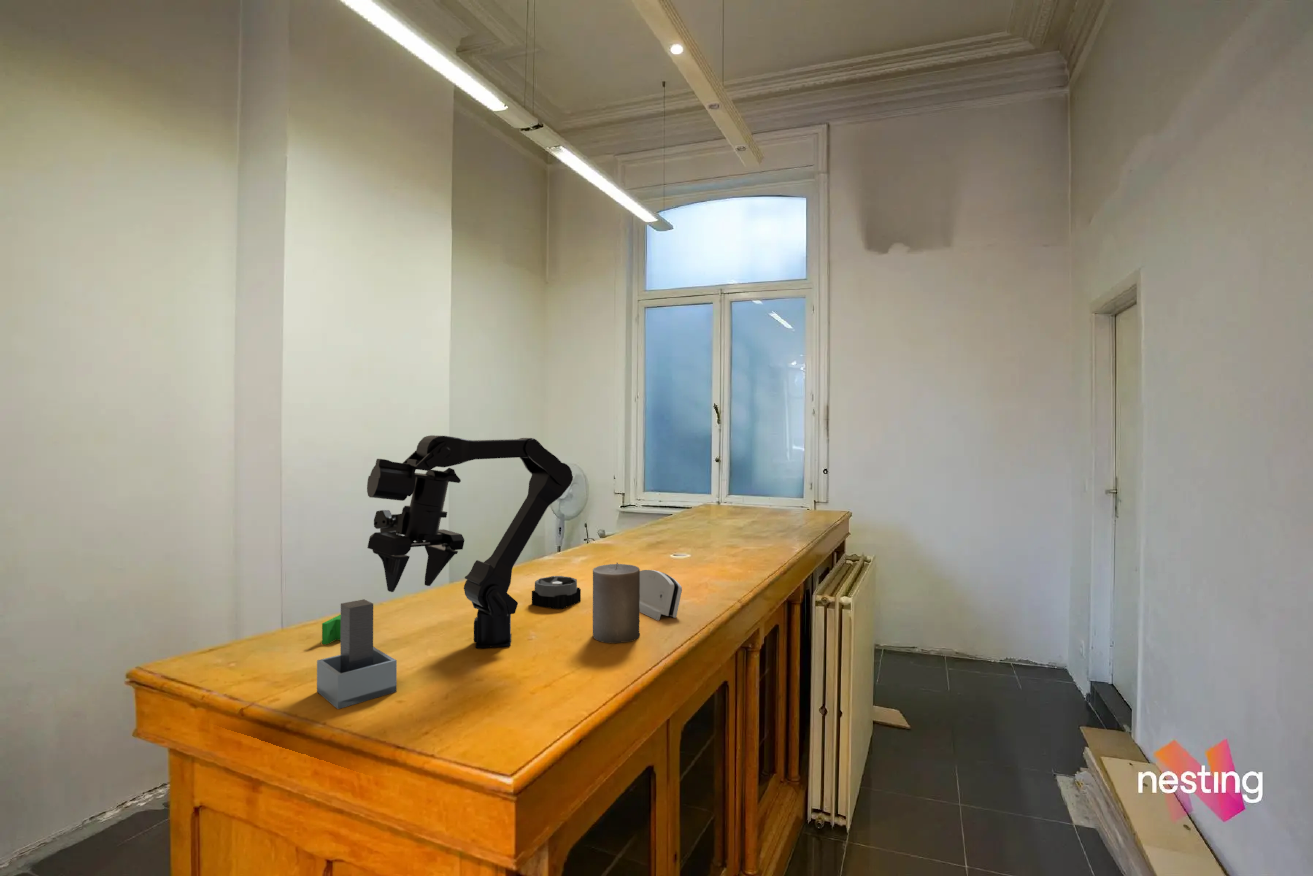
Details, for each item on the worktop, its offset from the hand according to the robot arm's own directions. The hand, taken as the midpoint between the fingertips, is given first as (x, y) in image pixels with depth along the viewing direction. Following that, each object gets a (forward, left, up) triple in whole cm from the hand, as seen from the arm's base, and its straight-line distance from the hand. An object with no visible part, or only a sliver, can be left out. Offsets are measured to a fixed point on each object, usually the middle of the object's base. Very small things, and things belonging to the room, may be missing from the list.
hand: (409, 588), depth 114 cm
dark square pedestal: (+6, +14, -12) cm, 19 cm away
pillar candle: (-39, -6, -13) cm, 41 cm away
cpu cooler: (-28, -33, -13) cm, 45 cm away
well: (+5, +14, -13) cm, 19 cm away
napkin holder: (-50, -24, -13) cm, 57 cm away
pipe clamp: (+15, -16, -13) cm, 25 cm away
